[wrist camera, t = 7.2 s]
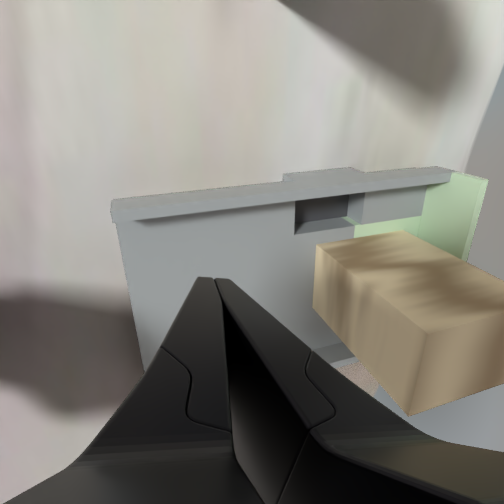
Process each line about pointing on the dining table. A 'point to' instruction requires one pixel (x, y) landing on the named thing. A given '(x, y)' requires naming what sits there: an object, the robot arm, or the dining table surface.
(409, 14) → the dining table surface
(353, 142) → the dining table surface
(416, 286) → the block
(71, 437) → the dining table surface
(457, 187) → the lane
